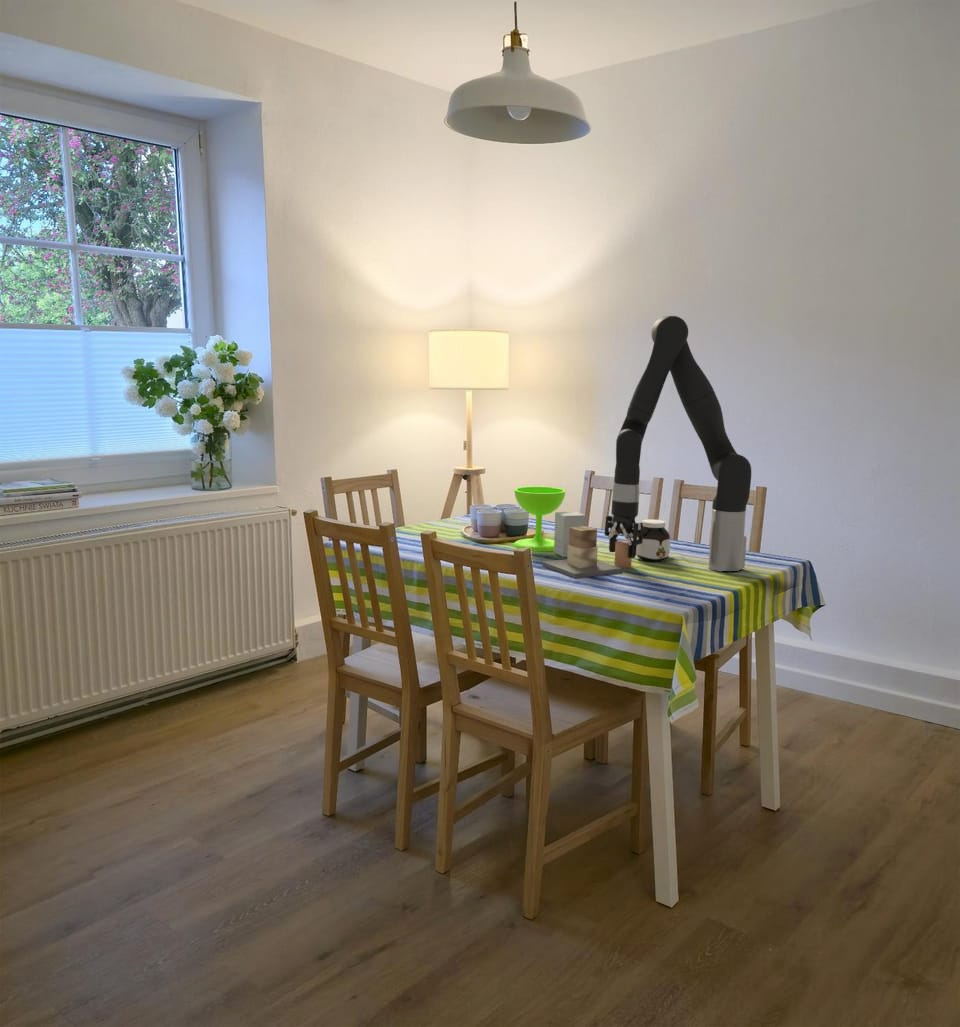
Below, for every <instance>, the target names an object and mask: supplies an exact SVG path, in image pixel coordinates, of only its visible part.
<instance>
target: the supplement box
mask: <svg viewBox="0 0 960 1027" xmlns="http://www.w3.org/2000/svg"><path fill="white" fill-rule="evenodd" d="M586 517H587V515H585V514H583V513H581V512H579V511H561V512H560V511H559V512H554V535H553V537H554V539H553V540H554V551H553V552H554V553H555V554H557V555H559V556H560V557H562V558H567V552H568V545H569V531H570V527H581V526H586Z"/></svg>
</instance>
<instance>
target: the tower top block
mask: <svg viewBox="0 0 960 1027" xmlns="http://www.w3.org/2000/svg"><path fill="white" fill-rule="evenodd" d="M597 538H598V528H594V527H590V526H587V525H585V526H581V527H570V531H569V545H571V546H574V547H577V548H580V549H581V548H591V547H597V543H598V542H597V541H598V539H597Z"/></svg>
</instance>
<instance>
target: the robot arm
mask: <svg viewBox="0 0 960 1027" xmlns="http://www.w3.org/2000/svg"><path fill="white" fill-rule="evenodd" d="M688 337H689V327H688V324H687V322H686V321H685V320H684V319H683V318H682V317H680V316H676V315H666V316H665V315H664V316H662V317H659V319H657V320H656V321H655V322H654V324H653V325H652V328H651V339H652V341H653V346H652V349H651V350H652V351H651V354H650V357H649V360H648V362H647V365H646V368H645V370H644V371H643V373H642V375H641V377H640V378H639V381H638V383H637V385H636V387H635V390H634V392H633V395H632V398H631V399H630V402H629V405H628V408H627V412H626V417H625V419H624V421H623V424H622V425H621V427H620V430H619V432H618V435H617V437H616V442H615V469H614V477H613V482H614V483H613V486H612V493H611V494H612V495H611V496H612V498H611V511H610V512H611V515H607V516H606V517H605V525H604V536H605V537H607V538H608V539H609V541H608V542H609V544H608V549H609V550H608V551H609V552H610V553H615V542H616V541H618V537H619V535H621V536H624V538H625V539H626V541H628V543H629V545H628V558H632V559H635V558H636V557H637V555H636V548H637V545H638V544H642V540H643V523H642V522H636V517H638V515H639V504H640V503H639V502H640V476H641V474H640V473H641V472H640V471H641V470H640V469H641V468H640V463H641V462H640V460H641V454H642V446H643V444H642V443H643V441H644V437H645V434H646V431H647V428H648V425H649V423H650V421H651V419H652V418H653V416H654V412H655V410H656V407H657V405H658V402H659V400H660V396H661V393H662V391H663V388H664V385H665V382H666V380H667V377H668V375H669V373H670V375H671V377H672V380H673V384H674V386H675V389H676V392H677V394H678V396H679V399H680V402H681V404H682V406H683V409H684V411H685V412H686V415H687V417H688V419H689V421H690V423H691V425H692V427H693V429H694V430H695V432H696V434H697V437H698V438H699V440H700V442H701V444H702V446H703V449H704V451H705V455H706V457H707V461H708V463H709V468H710V470H711V473H712V475H713V477H714V479H715V480H716V481H717V488H716V495H715V497H714V498H713V499H712V505H711V506H712V509H711V522H710V523H711V524H710V540H709V553H708V554H709V555H708V568H709V569H710V570H712V571H715V572H716V571H717V572H722V571H738V572H740V571H739V570H741V569H742V570H744V569H745V565H746V549H747V536H746V535H745V528H746V515H747V511H746V510H747V504H748V502H749V499H750V492H751V482H752V466H751V463H750V462H749V460H748V459H747V457H745V456H744V455H741V454H738V453H737V451H736V449H735V448H734V446H733V445H732V442H731V441H730V438H729V437H728V434H727V432H726V428H725V427H726V426H725V421H724V417H723V411H722V407H721V403H720V402H719V399H718V397H717V394H716V392H715V390H714V387H713V386H712V384H711V382H710V380H709V379H708V377H707V375H706V374H705V372H704V371H703V370H702V369H701V367H700V365H699V364H698V363H697V361H696V359H695V358H694V356H693V354H692V351H691V348H690V345H689V343H688ZM637 536H639V538H638V540H637ZM743 568H744V569H743ZM742 570H741V571H742Z"/></svg>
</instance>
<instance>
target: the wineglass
mask: <svg viewBox="0 0 960 1027" xmlns="http://www.w3.org/2000/svg"><path fill="white" fill-rule="evenodd" d="M513 491H514V497H515V500H516V502H517V503H518V505H519V506H520V508H521V509H523V511H525V512H526V513H528V514H531V515H534V516H535V535H534V536H533V537H532V538H522V539H519V540H516V541H515V542H514V543H513V545H512V546H513V548H515V549H517V548H525V547H529V548H531V549H532V551H531V552H545V553H546V552H554V539H549V538H544V537H543V534H542V533H543V529H542V528H543V516H546V515H549V514H551V513H553V512H555V511H557V509H558V508H559V507H560V506H561V504H562V503H563V500H564V499H565V495H566V489H564V488H559V487H552V486H551V487H550V486H521V487H520V486H519V487H516V488H514V490H513Z"/></svg>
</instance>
